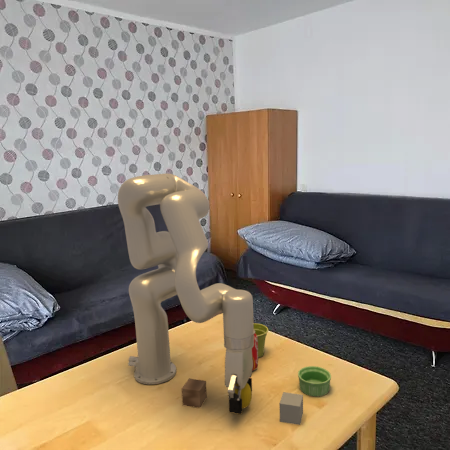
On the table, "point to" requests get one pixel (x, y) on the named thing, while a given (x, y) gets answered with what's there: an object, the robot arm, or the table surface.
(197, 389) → the walnut block
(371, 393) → the table surface
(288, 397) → the grey block
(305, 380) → the ramekin
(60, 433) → the table surface
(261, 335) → the plant pot
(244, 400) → the lemon
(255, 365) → the soda can
